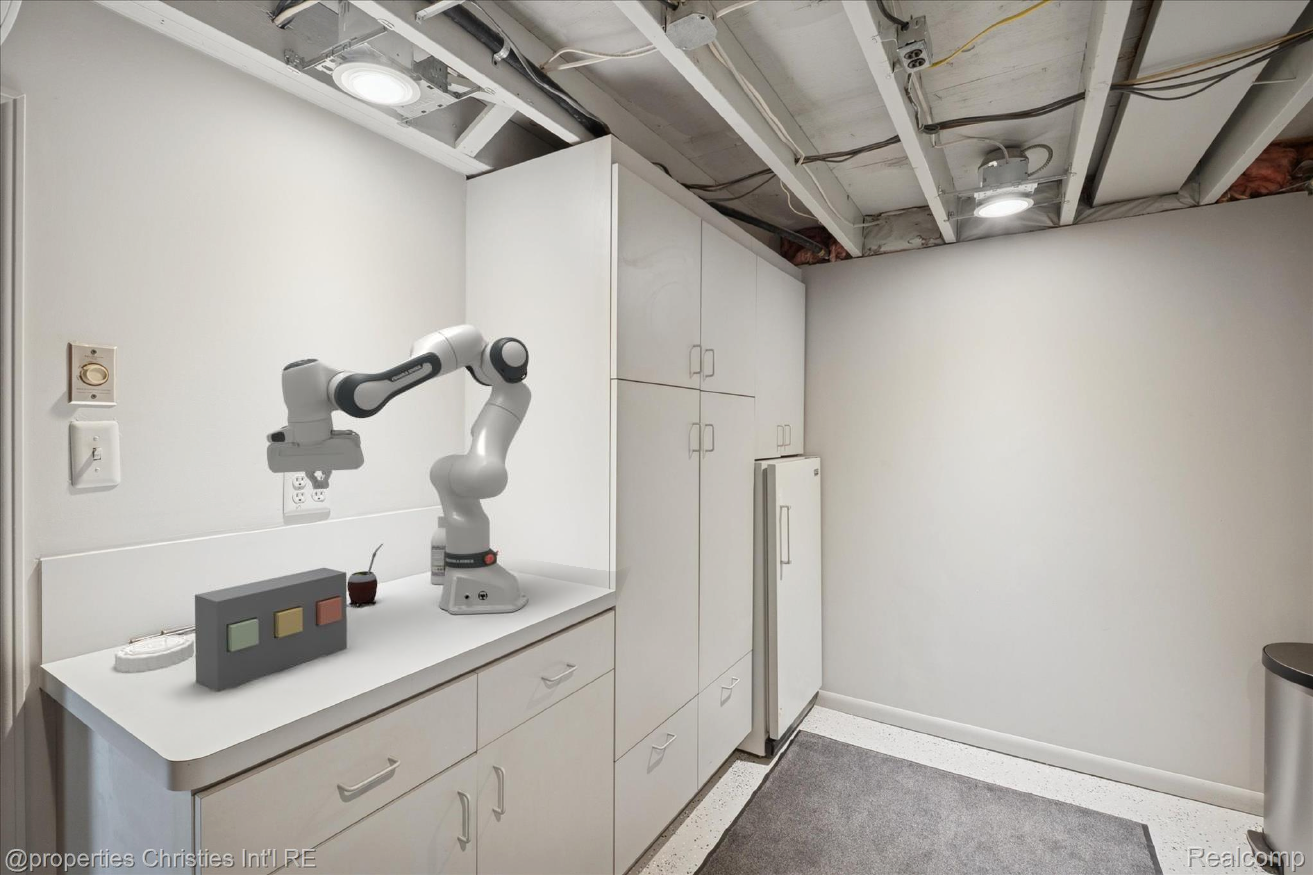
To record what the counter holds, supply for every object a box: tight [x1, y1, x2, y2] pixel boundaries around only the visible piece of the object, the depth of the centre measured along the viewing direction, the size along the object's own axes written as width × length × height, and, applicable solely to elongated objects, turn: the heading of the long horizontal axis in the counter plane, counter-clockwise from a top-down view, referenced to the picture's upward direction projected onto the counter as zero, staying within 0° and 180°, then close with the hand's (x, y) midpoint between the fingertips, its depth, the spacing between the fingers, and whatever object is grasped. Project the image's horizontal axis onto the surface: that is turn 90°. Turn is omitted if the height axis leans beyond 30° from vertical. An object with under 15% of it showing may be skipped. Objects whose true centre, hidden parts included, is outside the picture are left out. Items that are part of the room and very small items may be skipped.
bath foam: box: [430, 514, 446, 586], centre depth 178 cm, size 7×7×20 cm
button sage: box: [227, 618, 259, 651], centre depth 109 cm, size 3×4×4 cm
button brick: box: [316, 597, 342, 625], centre depth 123 cm, size 3×4×4 cm
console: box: [194, 567, 348, 693], centre depth 118 cm, size 8×24×16 cm, turn 150°
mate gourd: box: [346, 543, 384, 609], centre depth 157 cm, size 8×8×15 cm
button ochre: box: [274, 607, 303, 638], centre depth 116 cm, size 3×4×4 cm
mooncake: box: [114, 634, 195, 674], centre depth 119 cm, size 12×12×4 cm
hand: (321, 488), depth 141 cm, fingers closed
